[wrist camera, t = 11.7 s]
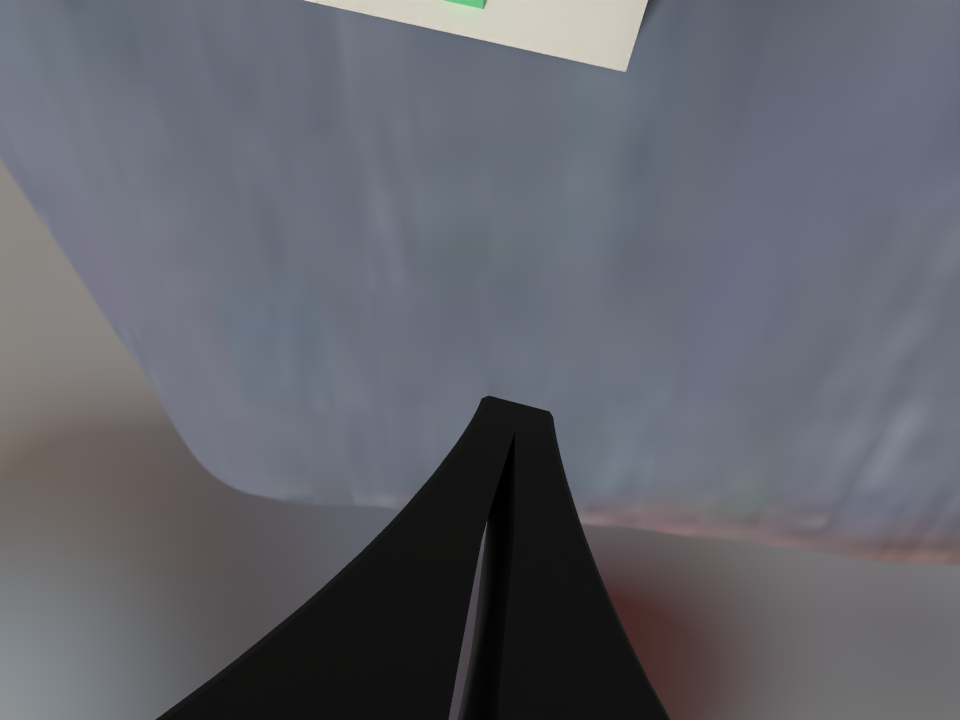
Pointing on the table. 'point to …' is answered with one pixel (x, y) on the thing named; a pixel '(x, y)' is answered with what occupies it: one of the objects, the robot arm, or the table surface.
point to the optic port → (525, 23)
